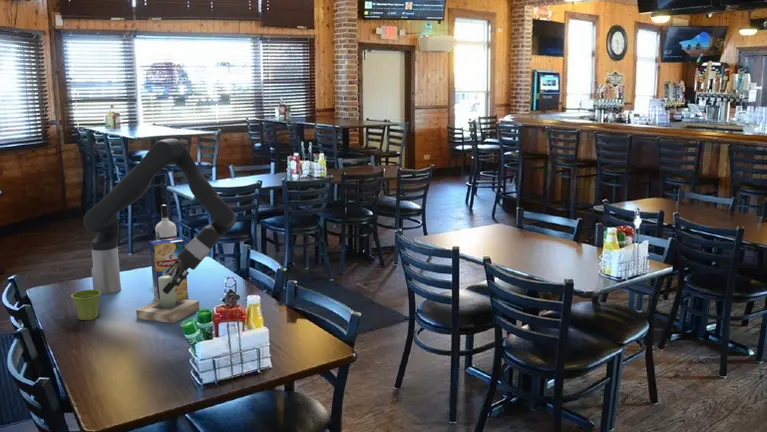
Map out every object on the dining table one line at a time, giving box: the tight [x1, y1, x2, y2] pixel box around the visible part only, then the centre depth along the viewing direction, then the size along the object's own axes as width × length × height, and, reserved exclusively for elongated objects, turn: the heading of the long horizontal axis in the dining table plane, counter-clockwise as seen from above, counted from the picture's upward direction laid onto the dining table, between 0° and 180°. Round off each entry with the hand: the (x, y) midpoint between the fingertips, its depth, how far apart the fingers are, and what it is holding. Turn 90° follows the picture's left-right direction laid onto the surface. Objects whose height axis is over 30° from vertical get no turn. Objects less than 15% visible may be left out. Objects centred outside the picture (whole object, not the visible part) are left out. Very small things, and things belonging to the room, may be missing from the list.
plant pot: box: [71, 289, 101, 321], centre depth 231 cm, size 9×9×9 cm
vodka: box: [154, 204, 178, 240], centre depth 280 cm, size 9×9×30 cm
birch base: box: [135, 298, 200, 324], centre depth 235 cm, size 15×15×3 cm
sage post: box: [158, 275, 176, 307], centre depth 234 cm, size 5×5×10 cm
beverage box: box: [149, 237, 189, 301], centre depth 251 cm, size 7×11×22 cm, turn 123°
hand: (162, 289), depth 233 cm, fingers open, 8 cm apart
